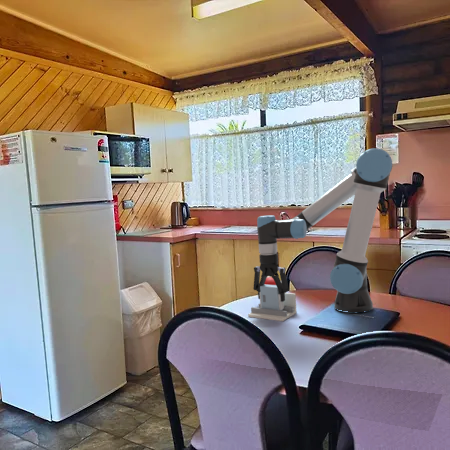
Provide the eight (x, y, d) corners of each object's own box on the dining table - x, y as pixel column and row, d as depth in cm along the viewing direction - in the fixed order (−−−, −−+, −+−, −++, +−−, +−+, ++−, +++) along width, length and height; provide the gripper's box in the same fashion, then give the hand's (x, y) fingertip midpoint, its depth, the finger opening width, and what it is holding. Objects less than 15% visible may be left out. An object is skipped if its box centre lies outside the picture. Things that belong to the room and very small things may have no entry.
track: (296, 312, 172) (295, 293, 171) (282, 321, 162) (281, 301, 161) (263, 308, 181) (261, 290, 181) (248, 316, 172) (247, 297, 171)
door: (282, 309, 171) (281, 285, 170) (278, 312, 168) (276, 287, 167) (265, 307, 175) (264, 284, 174) (261, 310, 172) (259, 286, 172)
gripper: (295, 252, 167) (299, 308, 168) (251, 251, 179) (255, 303, 181) (287, 255, 160) (290, 313, 162) (242, 254, 173) (245, 307, 175)
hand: (272, 307), depth 171 cm, fingers closed on door, 8 cm apart
